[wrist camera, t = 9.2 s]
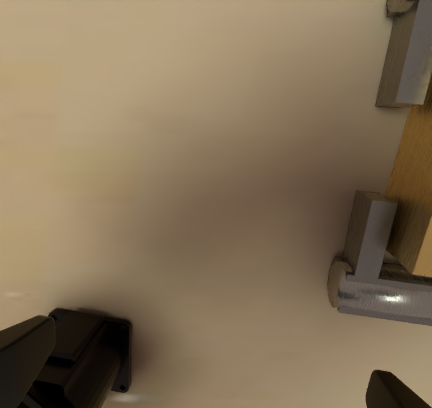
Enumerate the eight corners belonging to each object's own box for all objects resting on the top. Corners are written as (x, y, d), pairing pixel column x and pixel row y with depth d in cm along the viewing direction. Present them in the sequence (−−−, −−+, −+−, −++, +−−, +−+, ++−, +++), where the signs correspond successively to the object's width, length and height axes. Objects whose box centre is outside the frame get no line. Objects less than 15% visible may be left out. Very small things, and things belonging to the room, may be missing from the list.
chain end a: (456, 310, 20) (488, 339, 17) (325, 291, 20) (336, 316, 18) (492, 205, 18) (535, 219, 15) (346, 189, 18) (362, 200, 16)
